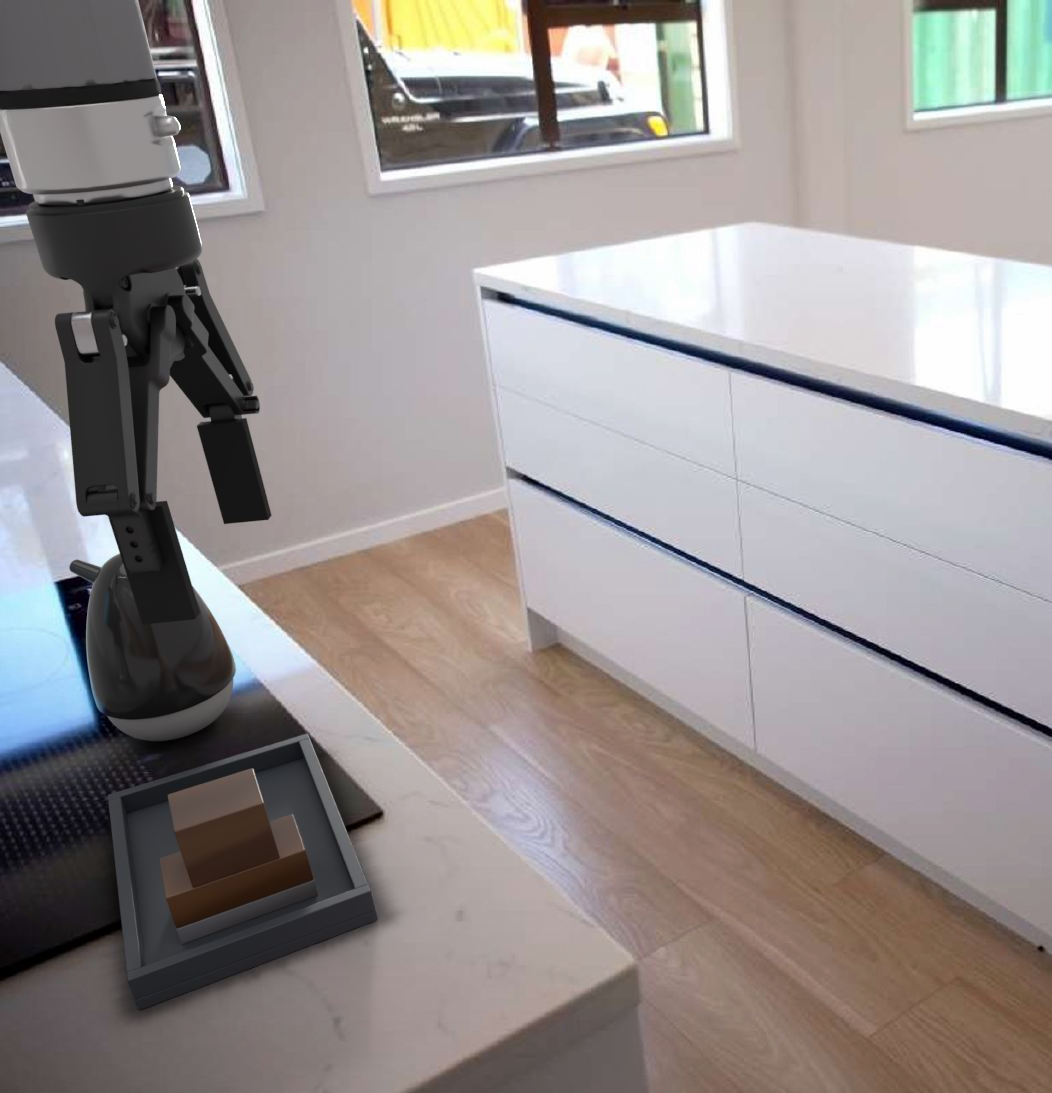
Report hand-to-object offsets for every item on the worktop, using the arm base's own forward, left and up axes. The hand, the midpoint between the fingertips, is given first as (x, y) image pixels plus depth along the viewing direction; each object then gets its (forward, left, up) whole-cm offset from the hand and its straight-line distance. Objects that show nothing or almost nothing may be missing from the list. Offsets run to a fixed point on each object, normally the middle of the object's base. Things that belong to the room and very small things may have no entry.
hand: (213, 565), depth 72 cm
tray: (-5, +1, -23) cm, 23 cm away
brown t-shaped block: (-2, -3, -22) cm, 22 cm away
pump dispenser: (-18, +20, -23) cm, 36 cm away
